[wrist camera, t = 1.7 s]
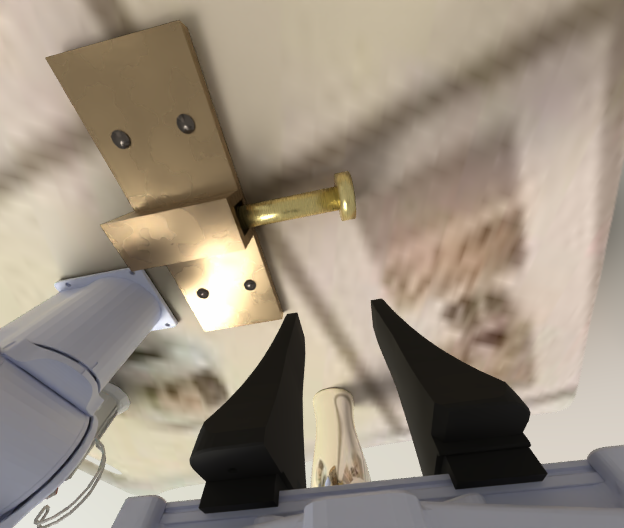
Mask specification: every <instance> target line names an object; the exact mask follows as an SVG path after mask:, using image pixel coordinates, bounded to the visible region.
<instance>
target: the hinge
mask: <svg viewBox="0 0 624 528" xmlns="http://www.w3.org/2000/svg"><path fill="white" fill-rule="evenodd" d="M46 60H47V62H48V63H49V65H50V67H51V69H52V70H53V72H54V74H55V75H56V77H57V79H58V81H59V82H60V84H61V86H62V87H63V89H64V91H65V93H66V94H67V96H68V98H69V99H70V101H71V103H72V105H73V106H74V108H75V110H76V111H77V113H78V115H79V117H80V118H81V120H82V122H83V123H84V125H85V127H86V129H87V130H88V132H89V134H90V135H91V137H92V139H93V141H94V142H95V144H96V146H97V147H98V149H99V151H100V153H101V154H102V156H103V158H104V159H105V161H106V163H107V165H108V166H109V168H110V170H111V171H112V173H113V175H114V177H115V178H116V180H117V182H118V183H119V185H120V187H121V189H122V190H123V192H124V194H125V195H126V197H127V199H128V200H129V202H130V204H131V206H132V207H133V209H134V211H133V212H131V213H128V214H126V215H123V216H121V217H118V218H116V219H113V220H111V221H109V222H106V223H104V224H101V225H100V226H101V228H102V229H103V230H104V232H105V233H106V235H107V236H108V238H109V239H110V241H111V242H112V244H113V245H114V247H115V248H116V250H117V251H118V253H119V254H120V255H121V257H122V258H123V260H124V261H125V263H126V264H127V266H128V267H129V269H130V270H131V272H132V271H138V270H143V269H148V268H153V267H159V266H164V265H166V266H167V267H168V269H169V271H170V272H171V274H172V276H173V278H174V279H175V281H176V283H177V284H178V286H179V288H180V290H181V291H182V293H183V295H184V296H185V298H186V300H187V302H188V303H189V305H190V307H191V308H192V310H193V312H194V314H195V315H196V317H197V319H198V320H199V322H200V324H201V326H202V327H203V329H204V331H205V332H206V331H212V330H218V329H224V328H230V327H236V326H243V325H249V324H255V323H261V322H267V321H273V320H279V319H282V317H283V311H282V308H281V305H280V302H279V299H278V296H277V293H276V290H275V287H274V284H273V281H272V278H271V275H270V272H269V269H268V266H267V264H266V261H265V258H264V255H263V252H262V249H261V246H260V243H259V240H258V237H257V234H256V231H255V228H254V227H251V228H246V229H241V226H240V223H239V220H238V218H237V215H236V212H235V209H234V207H239V206H243V205H247V204H246V201H245V198H244V195H243V192H242V189H241V186H240V183H239V180H238V177H237V174H236V171H235V168H234V165H233V163H232V160H231V157H230V154H229V151H228V148H227V145H226V142H225V139H224V136H223V133H222V130H221V127H220V124H219V121H218V118H217V115H216V112H215V109H214V106H213V103H212V100H211V97H210V94H209V91H208V88H207V85H206V82H205V79H204V76H203V73H202V70H201V67H200V64H199V62H198V59H197V56H196V53H195V50H194V47H193V44H192V41H191V38H190V35H189V32H188V29H187V27H186V26H185V25H184V24H183V23H182V22H181V21H180V20H178V21H174V22H170V23H167V24H163V25H160V26H156V27H153V28H149V29H145V30H142V31H138V32H135V33H131V34H128V35H124V36H121V37H117V38H113V39H110V40H106V41H103V42H99V43H96V44H92V45H89V46H85V47H81V48H78V49H74V50H71V51H67V52H64V53H60V54H57V55H53V56H49V57H46Z"/></svg>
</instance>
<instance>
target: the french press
mask: <svg viewBox="0 0 624 528" xmlns="http://www.w3.org/2000/svg"><path fill="white" fill-rule="evenodd" d="M99 395H100V396H101V398H103V399H104V402H103V403H102V404H101V405H100V407H99V408H98V409H97V411H96V412H95V413H94V415H95V416H96V417H97V419H98V428H97V432H96V434H95V437H94V439H93V441H92V443H91V446H90V448H89V449H88V451H87V453H86V454H85V456H84V457H83V459H82V460H81V462H80V463H79V464H78V466H77V467H76V468H75V469H74V471H73V472H72V473H71V474H70V475H69V476H68V478H67V479H66V480H68V479H70V478H71V477H72V476H73V474H74V473H75V472H76V470H77V469H78V467H79V466H80V465H81V463H82V462H83V460H84V459H85V457H86V456H87V455H88V453H89V452H90V450H91V449H92V447H93V446H94V445H95V443H96V447H97V448H98V449H99V450H100V451H101V452H102V459H101V463H100V466H99V468H98V471H97V473H96V475H95V476H94V478H93V479H92V481H91V482H90V484H89V485H88V487H87V488H86V489H85V490H84V491H83V492H82V494H80V496H79V497H78V498H77V499H76V500H75V501H74V502H73V503H71V504H70V505H69V506H68V507H66V508H65V509H63V510H62V511H60V512H59V513H57V514H56V515H54V516H52V517H50V518H48V519H45V520H44V518H45V517H46V515H47V514H48V512H49V508H50V507H49V506H48V505H46V506H44V507H43V509H42V510H41V511H40V512H39V514H38V515H37V517H36V518H35V520H34V524H36V525H37V528H47V527H50V526H52V525H54V524H57V523H58V522H60V521H61V520H63V519H64V518H66V517H67V516H69V515H70V514H71V513H73V512H74V511H75V510H76V509H77V508H78V507H79V506H80V505H81V504H82V503H83V502H84V501H85V500H86V499H87V497H88V496H89V495H90V494H91V492H92V491H93V489H94V488H95V486H96V484H97V483H98V481H99V479H100V478H101V475H102V473H103V470H104V467H105V462H106V456H105V449H104V445H103V444H102V443H101V442H100V438H101V437H102V435H103V434H104V432H105V431H106V430H107V428H108V427H109V425H110V424H111V422H112V421H113V419H114V418H115V416H116V415H118V414H121V413H122V412H124V411H126V410H128V408H129V405H130V401H129V398H128V396H127V395H126V394H125V393H124V392H123V391H122V390H121V389H120V388H119V387H117V386H115V385H113V384H111V383H110V382H108V383H107V384H106V386H105V387H104V388H103V389H102V391H101V392H100V393H99ZM99 445H100V446H101V447H100V446H99ZM100 470H101V471H100ZM99 472H100V474H99ZM98 474H99V476H98V477H97V475H98ZM96 477H97V479H96ZM95 479H96V481H95V483H94V484H93V482H94V480H95ZM66 480H65V481H66ZM92 484H93V486H92V488H91V490H90V491H89V492H88V494H87V495H86V496H85V497H84V498H83V499H82V500H81V502H80V503H78V504H77V506H75V507H74V508H73V509H72V510H71V511H70V512H69V513H67V514H66V515H64V516H63V517H61V518H60V519H58V520H57V521H55V522H52V523H50V524H48V525H45V526H41V524H42V523H45V522H47V521H49V520H52V519H54V518H56V517H57V516H59V515H60V514H62V513H63V512H65V511H66V510H68V509H69V508H70V507H71V506H72V505H74V504H75V503H76V502H77V501H78V500H79V499H80V497H81V496H82V495H83V494H84V493H85V492H86V491H87V490H88V489H89V488H90V487H91V485H92ZM57 491H58V488H57V489H56V490H55V491H54V492H52V493H51V494H50V495H49V496H48V497H47V498H45V499H48V498H50V497H52V496H54V495H56V494H57ZM45 509H46V513H45V514H44V516H43V517H42V519H41V520H40V521H38V518H39V517H40V516H41V514H42V513H43V511H44V510H45Z"/></svg>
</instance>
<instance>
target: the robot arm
mask: <svg viewBox="0 0 624 528" xmlns="http://www.w3.org/2000/svg"><path fill="white" fill-rule="evenodd" d="M134 272H135V273H134ZM134 272H131V270H130V269H129V267H128V268H123V269H118V270H113V271H107V272H102V273H97V274H92V275H87V276H81V277H76V278H71V279H66V280H61V281H58V282H56V283H55V284H54V286H55V288H56V289H57V290H58V291H59V293H57V294H56V295H54V296H52V297H51V298H49V299H47V300H46V301H44V302H43V303H41V304H39V305H38V306H36V307H34V308H33V309H31V310H30V311H28V312H26V313H25V314H23V315H21V316H20V317H18V318H17V319H15V320H13V321H12V322H10V323H8V324H7V325H5V326H3V327H2V328H0V528H13V527H14V526H15V525H16V524H17V523H18V522H19V521H20V520H21V519H22V518H23V517H24V516H25V515H26V514H28V513H29V512H30V511H31V510H32V509H33V508H34V507H35V506H36V505H38V504H39V503H40V502H42V501H43V500H44V499H45V498H47V497H48V496H49V495H50V494H51V493H52V492H54V491H55V490H56V489H57V488H58V487H59V486H60V485H61V484H62V483H63V482H64V481H65V480H66V479H67V478H68V476H69V475H70V474H71V473H72V472H73V471H74V469H75V468H76V467H77V466H78V464H79V463H80V462H81V460H82V459H83V457H84V456H85V454H86V453H87V451H88V449H89V448H90V446H91V443H92V441H93V439H94V437H95V434H96V432H97V428H98V419H97V417H96V416H95V415H94V413H95V412H96V411H97V409H98V408H99V407H100V405H101V404H102V403H103V402H104V399H103V398H101V396H100V395H99V393H100V392H101V391H102V389H103V388H104V387H105V386H106V384H107V383H108V382H109V381H110V380H111V378H112V377H113V376H114V375H115V374H116V372H117V371H118V370H119V369H120V367H121V366H122V365H123V364H124V363H125V361H126V360H127V359H128V358H129V356H130V355H131V354H132V353H133V352H134V350H135V349H136V348H137V347H138V346H139V344H140V343H141V342H142V341H143V339H144V338H145V337H146V336H147V335H148V333H149V332H150V331H154V330H160V329H166V328H172V327H176V325H177V324H178V322H177V320H176V319H175V317H174V315H173V314H172V312H171V311H170V309H169V308H168V306H167V305H166V303H165V302H164V300H163V298H162V297H161V295H160V294H159V292H158V291H157V289H156V288H155V286H154V284H153V283H152V281H151V280H150V278H149V277H148V275H147V274H146V272H145V271H144V269H143V270H138V271H134ZM371 309H372V320H373V328H374V331H375V335H376V338H377V341H378V344H379V347H380V349H381V351H382V354H383V356H384V358H385V361H386V363H387V366H388V368H389V370H390V373H391V375H392V377H393V380H394V383H395V385H396V388H397V391H398V394H399V397H400V400H401V404H402V407H403V410H404V413H405V416H406V420H407V423H408V426H409V429H410V433H411V436H412V440H413V443H414V446H415V449H416V453H417V457H418V460H419V464H420V467H421V471H422V474H423V476H422V477H411V478H401V479H392V480H382V481H372V482H362V483H353V484H343V485H333V486H323V487H313V488H306V476H305V458H304V435H303V400H302V399H303V380H304V366H305V337H304V334H303V330H302V327H301V324H300V320H299V317H298V313H291V314H287V315H286V317H285V319H284V321H283V323H282V325H281V327H280V329H279V331H278V333H277V335H276V337H275V339H274V341H273V342H272V344H271V346H270V347H269V349H268V351H267V352H266V354H265V356H264V357H263V359H262V360H261V361H260V363H259V364H258V366H257V367H256V368H255V370H254V371H253V372H252V374H251V375H250V376H249V377H248V379H247V380H246V381H245V382H244V383H243V385H242V386H241V387H240V388H239V389H238V390H237V391H236V392H235V393H234V394H233V395H232V397H231V398H230V399H229V400H228V401H227V402H226V403H225V404H224V405H223V406H221V407H220V408H219V409H218V410H217V411H216V412H215V413H214V414H213V415H212V416H210V417H209V418H208V419H207V420H206V421H205V422H204V424H203V426H202V428H201V430H200V433H199V435H198V438H197V440H196V443H195V446H194V449H193V451H192V454H191V457H190V465H191V467H192V468H193V469H194V470H195V471H196V472H197V473H198V474H199V475H200V476H201V477H202V478H203V479H204V480H205V481H206V484H205V487H204V491H203V494H202V497H201V499H196V500H187V501H177V502H167V503H166V501H165V500H164V499H163V498H162V497H160V496H156V495H146V496H137V497H128V498H127V499H126V500H125V502H124V504H123V506H122V508H121V510H120V512H119V514H118V515H117V518H116V520H115V521H114V523H113V525H112V527H111V528H624V445H619V446H611V447H602V448H598V449H596V450H593V451H592V452H591V453H590V454H589V455H588V457H587V460H578V461H568V462H558V463H548V464H541V463H540V462H539V461H538V460H537V458H536V457H535V455H534V454H533V452H532V451H531V449H530V448H529V447H530V446H531V444H530V442H529V440H528V439H527V437H526V436H525V435H524V433H523V431H524V429H525V427H526V425H527V423H528V421H529V417H530V411H529V408H528V407H527V406H526V404H525V403H524V402H523V401H522V400H521V398H520V397H519V396H518V395H517V394H516V393H515V392H514V391H513V390H512V389H511V388H510V387H509V386H508V385H507V383H506V382H504V381H501V380H499V379H497V378H495V377H493V376H490V375H488V374H486V373H484V372H481V371H479V370H477V369H475V368H473V367H471V366H470V365H468V364H466V363H464V362H462V361H460V360H458V359H457V358H455V357H453V356H452V355H450V354H448V353H446V352H445V351H443V350H442V349H440V348H439V347H437V346H436V345H434V344H433V343H431V342H430V341H428V340H427V339H426V338H424V337H423V336H422V335H420V334H419V333H418V332H417V331H415V330H414V329H413V328H412V327H411V326H409V325H408V324H407V323H406V322H405V321H404V320H403V319H402V318H400V317H399V316H398V315H397V314H396V313H395V312H394V311H393V310H392V309H391V308H390V307H389V306H388V305H387V303H386V302H385V301H384V300H383V299H376V300H371Z"/></svg>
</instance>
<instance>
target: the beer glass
mask: <svg viewBox="0 0 624 528" xmlns="http://www.w3.org/2000/svg"><path fill="white" fill-rule="evenodd" d="M313 408H314V413H315V419H316V439H315V448H314V456H313V465H312V475H311V488H313V487H323V486H333V485H343V484H353V483H362V482H371V479H370V475H369V471H368V468H367V464H366V461H365V458H364V455H363V452H362V449H361V446H360V443H359V439H358V436H357V433H356V429H355V424H354V402H353V397H352V395H351V394H350V393H349V392H348V391H346V390H344V389H340V388H329V389H324V390H322V391H320V392H318V393H317V394H316V395H315V396H314V398H313Z"/></svg>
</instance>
